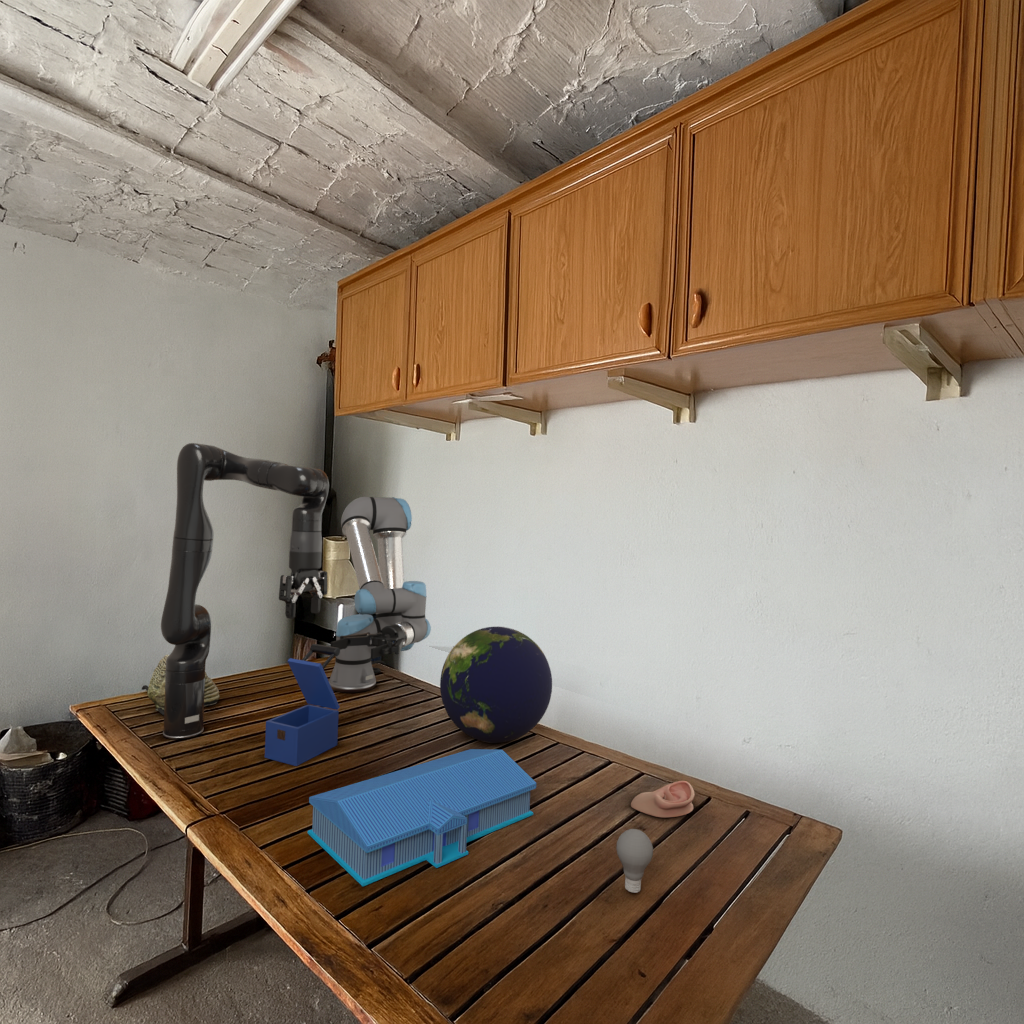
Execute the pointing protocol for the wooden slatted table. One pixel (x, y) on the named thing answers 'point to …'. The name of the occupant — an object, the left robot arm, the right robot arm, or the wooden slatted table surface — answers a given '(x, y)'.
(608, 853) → the wooden slatted table surface
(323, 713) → the chest
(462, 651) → the globe
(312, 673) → the lid
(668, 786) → the anatomical model
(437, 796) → the model building
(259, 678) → the wooden slatted table surface
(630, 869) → the light bulb
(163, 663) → the fossil
